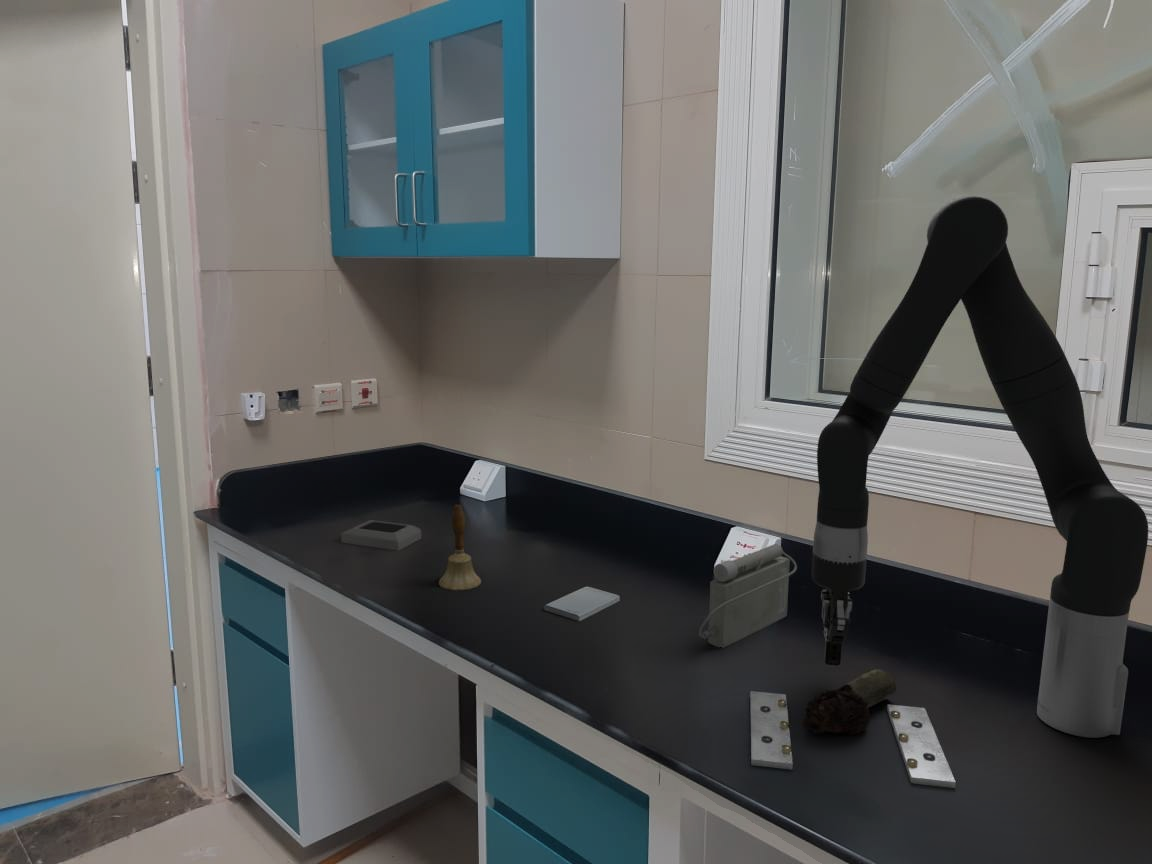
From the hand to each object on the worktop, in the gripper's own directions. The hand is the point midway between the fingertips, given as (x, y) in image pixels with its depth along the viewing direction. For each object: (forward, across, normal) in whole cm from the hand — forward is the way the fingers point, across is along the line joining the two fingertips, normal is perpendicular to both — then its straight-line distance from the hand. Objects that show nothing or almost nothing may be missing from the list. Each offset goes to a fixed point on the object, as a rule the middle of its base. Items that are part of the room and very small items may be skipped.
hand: (831, 662), depth 127 cm
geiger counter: (+4, +16, +12) cm, 21 cm away
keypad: (+4, +53, +93) cm, 107 cm away
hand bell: (+4, +31, +67) cm, 74 cm away
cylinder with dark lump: (+4, -9, -2) cm, 10 cm away
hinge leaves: (+4, -15, 0) cm, 16 cm away
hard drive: (+4, +24, +42) cm, 48 cm away
